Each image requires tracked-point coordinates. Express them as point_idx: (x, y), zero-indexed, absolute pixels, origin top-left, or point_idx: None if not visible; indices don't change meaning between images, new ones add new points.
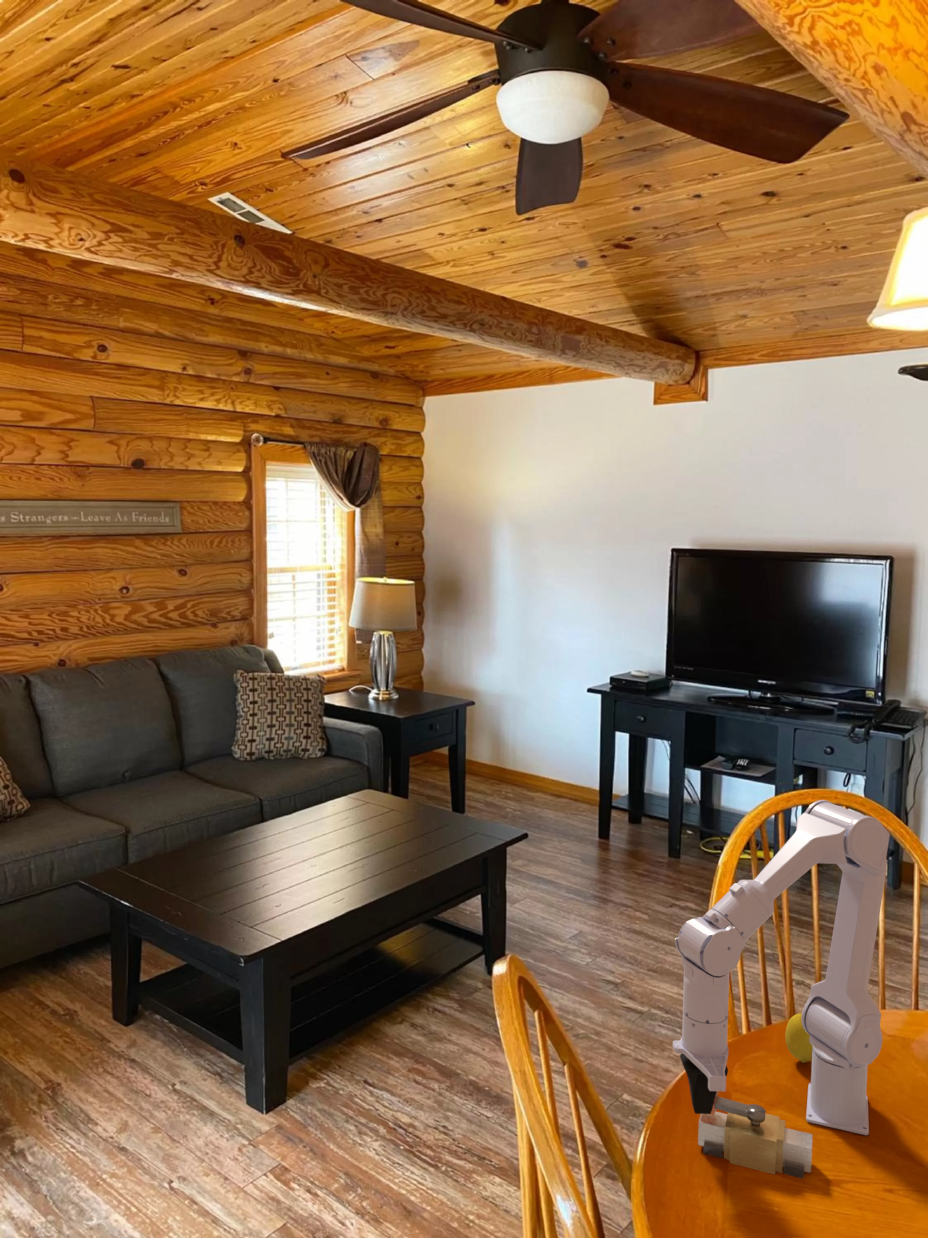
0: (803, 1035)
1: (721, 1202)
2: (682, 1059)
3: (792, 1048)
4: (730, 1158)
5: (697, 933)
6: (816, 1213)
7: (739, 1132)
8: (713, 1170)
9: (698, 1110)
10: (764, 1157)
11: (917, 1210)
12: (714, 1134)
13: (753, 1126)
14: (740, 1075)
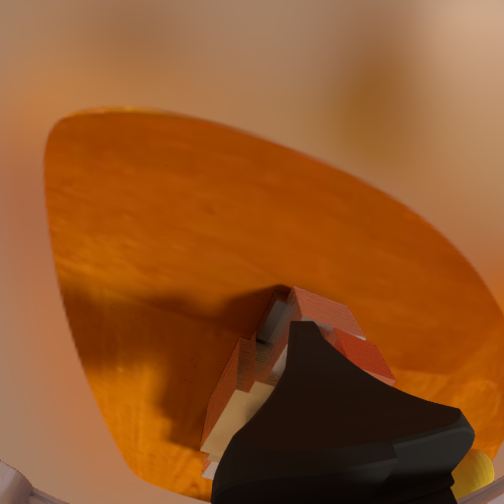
0: (463, 488)
1: (114, 283)
2: (390, 466)
3: (466, 462)
4: (238, 344)
5: None
6: (125, 413)
7: (228, 405)
8: (214, 296)
9: (290, 338)
10: (211, 408)
11: (164, 488)
12: (278, 340)
13: None
14: (474, 389)
